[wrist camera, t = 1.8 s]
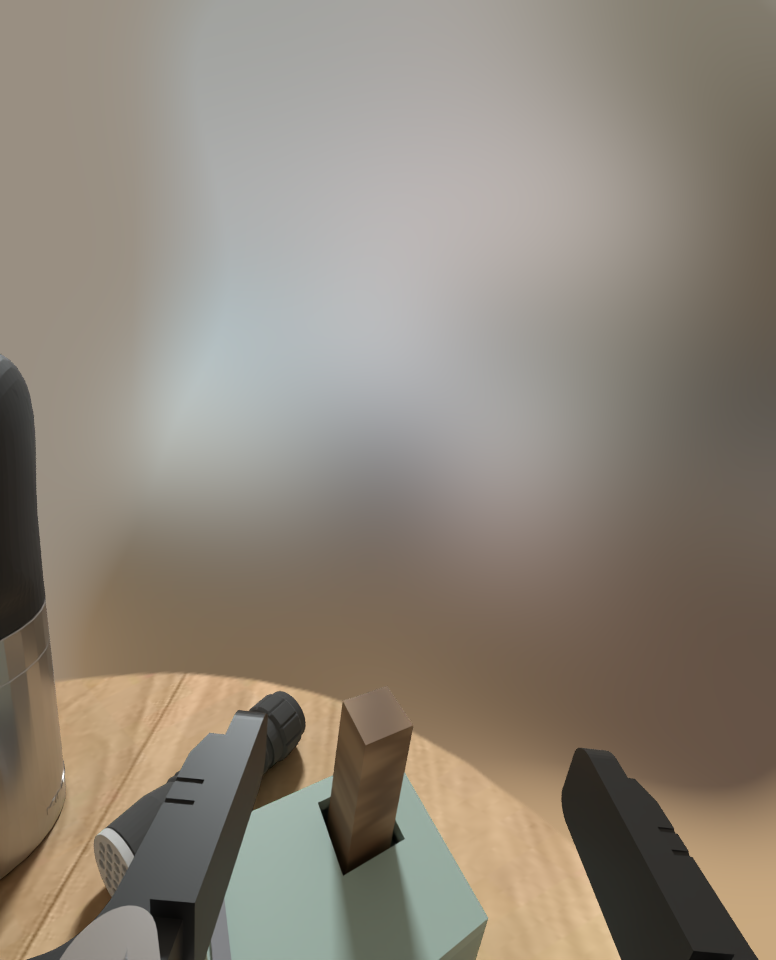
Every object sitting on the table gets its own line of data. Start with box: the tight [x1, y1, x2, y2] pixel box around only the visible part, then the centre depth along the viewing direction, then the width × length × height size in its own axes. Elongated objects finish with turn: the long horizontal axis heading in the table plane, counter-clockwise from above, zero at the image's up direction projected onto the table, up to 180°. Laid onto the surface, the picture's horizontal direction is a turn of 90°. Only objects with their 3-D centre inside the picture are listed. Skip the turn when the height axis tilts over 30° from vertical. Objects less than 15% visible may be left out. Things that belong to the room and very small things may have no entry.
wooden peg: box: [327, 686, 413, 876], centre depth 25 cm, size 3×3×14 cm
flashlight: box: [94, 691, 305, 897], centre depth 30 cm, size 15×5×5 cm, turn 151°
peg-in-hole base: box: [205, 772, 488, 960], centre depth 23 cm, size 14×11×6 cm
